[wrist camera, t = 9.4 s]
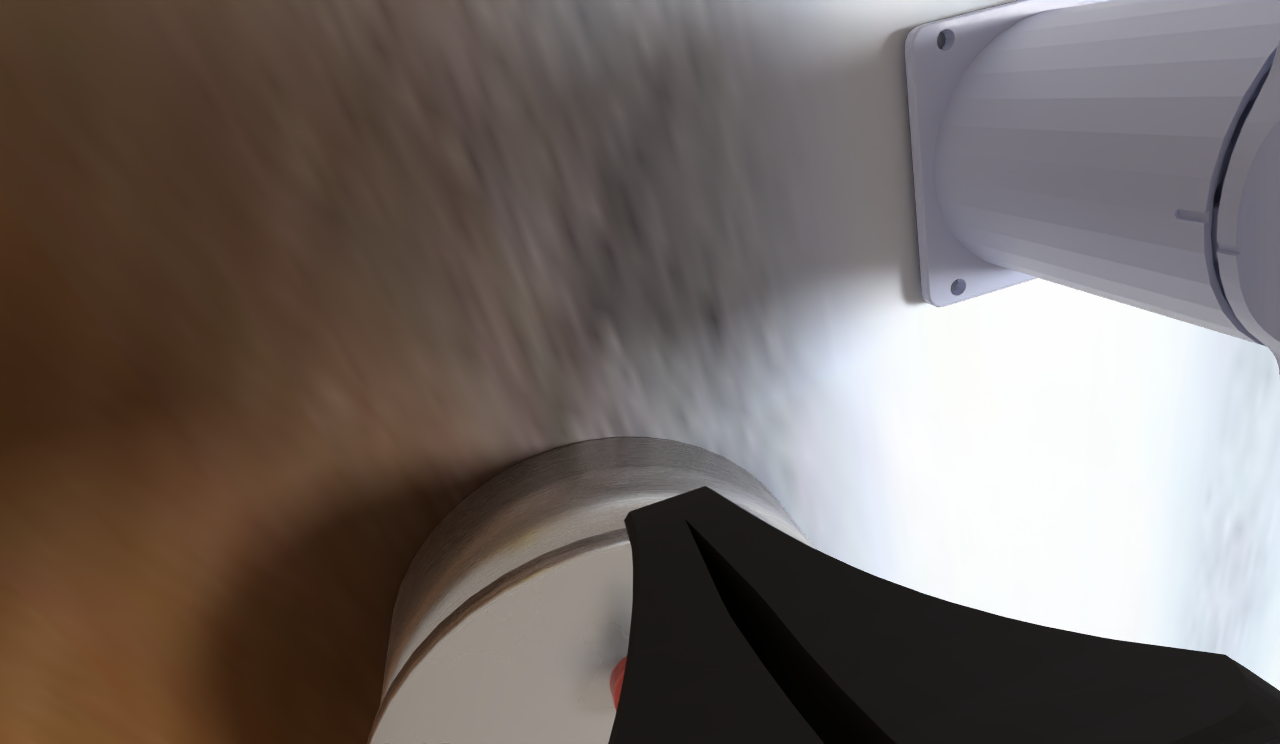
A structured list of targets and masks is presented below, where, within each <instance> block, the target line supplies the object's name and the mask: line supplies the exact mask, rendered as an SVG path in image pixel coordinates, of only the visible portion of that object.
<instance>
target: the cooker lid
mask: <svg viewBox="0 0 1280 744" xmlns="http://www.w3.org/2000/svg"><path fill="white" fill-rule="evenodd" d="M632 601H633V561H632V548H631V544H630V541H629V537H628V534H627V530H626V528H623V529H618V530H614V531H610V532H607V533H603V534H599V535H595V536H592V537H588V538H584V539H581V540H578V541H575V542H573V543H570V544H568V545H565V546H563V547H560V548H557V549H555V550H552V551H550V552H547V553H545V554H542V555H540V556H538V557H536V558H534V559H532V560H530V561H528V562H527V563H525V564H523V565H521V566H519V567H517V568H515V569H513V570H511V571H509V572H508V573H506V574H504V575H502V576H501V577H499V578H498V579H496V580H495V581H493V582H492V583H490V584H489V585H487V586H486V587H484V588H483V589H482V590H480V591H479V592H477V593H476V594H474V595H473V596H471V597H470V598H469V599H467V600H466V601H465V602H464V603H463V604H462V605H460V606H459V607H458V608H457V609H456V610H455V611H453V612H452V613H451V614H450V615H449V616H448V617H446V618H445V619H444V620H443V621H442V622H441V623H439V624H438V626H437V627H436V628H435V629H434V630H433V631H432V632H431V633H430V634H429V635H428V636H427V638H426V639H425V640H424V641H423V642H422V643H421V644H420V645H419V646H418V647H417V649H416V650H415V651H414V652H413V653H412V655H411V656H410V657H409V659H408V660H407V662H406V663H405V665H404V666H403V667H402V669H401V670H400V672H399V673H398V675H397V676H396V678H395V679H394V680H393V682H392V683H391V685H390V687H389V689H388V691H387V693H386V695H385V697H384V699H383V701H382V703H381V705H380V707H379V709H378V711H377V713H376V716H375V719H374V722H373V725H372V728H371V732H370V735H369V738H368V741H367V744H608V742H609V739H610V735H611V731H612V727H613V723H614V719H615V715H616V711H617V707H618V702H619V697H620V693H621V688H622V683H623V677H624V672H625V666H626V659H627V653H628V645H629V635H630V625H631V615H632Z"/></svg>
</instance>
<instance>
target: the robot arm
mask: <svg viewBox="0 0 1280 744" xmlns="http://www.w3.org/2000/svg"><path fill="white" fill-rule="evenodd" d="M941 31H942V32H943V33H944V34H945V38H946V41H945V45H944V47H943V48H942V49H940V48H939V47H938V44H937V38H938V35H939V34H940V32H941ZM905 60H906V74H907V88H908V102H909V117H910V131H911V145H912V159H913V173H914V187H915V201H916V215H917V229H918V243H919V257H920V271H921V285H922V295H923V299H924V300H925V301H926V302H927V303H929V304H931V305H933V306H936V307H944V306H947V305H950V304H954V303H957V302H960V301H964V300H967V299H970V298H973V297H977V296H980V295H983V294H987V293H990V292H993V291H996V290H1000V289H1003V288H1006V287H1010V286H1013V285H1016V284H1019V283H1023V282H1026V281H1029V280H1032V279H1036V278H1041V279H1044V280H1047V281H1051V282H1054V283H1057V284H1061V285H1064V286H1067V287H1071V288H1074V289H1077V290H1081V291H1084V292H1087V293H1091V294H1094V295H1097V296H1101V297H1104V298H1107V299H1111V300H1114V301H1117V302H1121V303H1124V304H1127V305H1131V306H1134V307H1137V308H1141V309H1144V310H1147V311H1151V312H1154V313H1157V314H1161V315H1164V316H1167V317H1171V318H1174V319H1177V320H1181V321H1184V322H1187V323H1191V324H1194V325H1197V326H1201V327H1204V328H1207V329H1211V330H1214V331H1217V332H1221V333H1224V334H1227V335H1231V336H1234V337H1237V338H1241V339H1244V340H1247V341H1251V342H1254V343H1257V344H1261V345H1264V346H1267V347H1268V348H1269V349H1270V350H1271V351H1272V353H1273V354H1274V356H1275V358H1276V360H1277V363H1278V366H1279V373H1280V0H1019V1H1015V2H1011V3H1007V4H1003V5H999V6H995V7H991V8H987V9H983V10H979V11H975V12H971V13H966V14H962V15H958V16H954V17H950V18H946V19H942V20H938V21H934V22H930V23H926V24H922V25H919V26H917V27H915V28H913V30H912V31H911V32H910V33H909V34H908V37H907V39H906V41H905ZM955 280H958V285H957V287H956V289H955V290H954V291H952V292H951V290H950V289H951V285H952V283H953V282H954V281H955ZM624 523H625V526H626V530H627V534H628V537H629V541H630V544H631V548H632V561H633V601H632V615H631V625H630V635H629V645H628V653H627V659H626V666H625V672H624V677H623V683H622V688H621V693H620V697H619V702H618V707H617V711H616V715H615V719H614V723H613V727H612V731H611V735H610V739H609V742H608V744H1280V691H1279V690H1278V689H1276V688H1275V687H1273V686H1272V685H1270V684H1269V683H1267V682H1266V681H1264V680H1263V679H1262V678H1260V677H1259V676H1257V675H1256V674H1254V673H1253V672H1251V671H1250V670H1248V669H1247V668H1245V667H1244V666H1242V665H1241V664H1239V663H1237V662H1236V661H1234V660H1232V659H1231V658H1229V657H1228V656H1226V655H1223V654H1216V653H1208V652H1201V651H1194V650H1186V649H1179V648H1171V647H1164V646H1157V645H1149V644H1142V643H1135V642H1127V641H1120V640H1113V639H1107V638H1101V637H1096V636H1091V635H1086V634H1081V633H1076V632H1071V631H1066V630H1061V629H1055V628H1050V627H1045V626H1041V625H1036V624H1032V623H1028V622H1023V621H1019V620H1015V619H1010V618H1006V617H1002V616H998V615H995V614H991V613H988V612H984V611H980V610H977V609H973V608H970V607H966V606H962V605H959V604H955V603H952V602H948V601H945V600H942V599H939V598H936V597H932V596H929V595H926V594H923V593H920V592H918V591H915V590H912V589H909V588H907V587H904V586H901V585H898V584H896V583H893V582H890V581H887V580H885V579H882V578H879V577H877V576H874V575H872V574H869V573H867V572H864V571H862V570H859V569H857V568H855V567H853V566H850V565H848V564H846V563H844V562H842V561H839V560H837V559H835V558H833V557H831V556H829V555H826V554H824V553H822V552H820V551H818V550H816V549H814V548H812V547H810V546H808V545H806V544H805V543H803V542H801V541H799V540H797V539H795V538H793V537H792V536H790V535H788V534H786V533H784V532H782V531H781V530H779V529H777V528H775V527H773V526H772V525H770V524H768V523H766V522H765V521H763V520H761V519H760V518H758V517H756V516H755V515H753V514H751V513H750V512H748V511H746V510H745V509H743V508H741V507H740V506H738V505H736V504H735V503H733V502H732V501H730V500H728V499H727V498H725V497H724V496H722V495H720V494H719V493H717V492H715V491H714V490H712V489H710V488H708V487H707V486H703V487H700V488H697V489H694V490H691V491H688V492H686V493H683V494H680V495H677V496H674V497H671V498H668V499H665V500H662V501H659V502H656V503H653V504H650V505H647V506H644V507H641V508H638V509H635V510H632V511H630V512H629V513H628V515H627V516H626V518H625V519H624Z"/></svg>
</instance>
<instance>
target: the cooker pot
mask: <svg viewBox="0 0 1280 744" xmlns="http://www.w3.org/2000/svg"><path fill="white" fill-rule="evenodd" d="M703 486H707V487H708V488H710V489H712V490H714V491H715V492H717V493H719V494H720V495H722V496H724V497H725V498H727V499H728V500H730V501H732V502H733V503H735V504H736V505H738V506H740V507H741V508H743V509H745V510H746V511H748V512H750V513H751V514H753V515H755V516H756V517H758V518H760V519H761V520H763V521H765V522H766V523H768V524H770V525H772V526H773V527H775V528H777V529H779V530H781V531H782V532H784V533H786V534H788V535H790V536H792V537H793V538H795V539H797V540H799V541H801V542H803V543H805V544H806V545H808V546H810V547H812V548H814V549H816V548H815V547H814V545H813V544H812V543H811V542H810V540H809V539H808V538H807V537H806V535H805V534H804V533H803V532H802V530H801V529H800V528H799V527H798V525H797V524H796V523H795V522H794V520H793V519H792V518H791V517H790V515H789V514H788V513H787V512H786V510H785V509H784V508H783V507H782V505H781V504H780V503H779V502H778V500H777V499H776V498H775V497H774V496H773V495H772V494H771V493H770V491H769V490H768V489H767V488H766V487H765V486H764V485H763V484H762V483H761V482H760V481H758V480H757V479H756V478H755V477H753V476H752V475H751V474H750V473H749V472H747V471H746V470H745V469H743V468H741V467H740V466H738V465H736V464H735V463H733V462H731V461H730V460H728V459H726V458H724V457H722V456H720V455H717V454H715V453H712V452H710V451H708V450H705V449H703V448H700V447H697V446H693V445H689V444H685V443H681V442H677V441H673V440H664V439H656V438H648V437H615V438H607V439H599V440H591V441H584V442H580V443H576V444H572V445H568V446H564V447H560V448H556V449H553V450H551V451H548V452H545V453H543V454H540V455H537V456H535V457H532V458H529V459H527V460H525V461H523V462H521V463H519V464H517V465H515V466H513V467H511V468H509V469H507V470H505V471H503V472H501V473H499V474H498V475H496V476H495V477H493V478H492V479H490V480H489V481H487V482H486V483H484V484H483V485H481V486H480V487H478V488H477V489H475V490H474V491H473V492H471V493H470V494H469V495H468V496H467V497H466V498H465V499H463V500H462V501H461V502H460V503H459V504H458V505H456V506H455V507H454V508H453V509H452V510H451V511H450V512H449V513H448V514H447V515H446V516H445V517H444V518H443V519H442V521H441V522H440V523H439V524H438V525H437V526H436V527H435V528H434V529H433V531H432V532H431V533H430V534H429V536H428V537H427V539H426V540H425V541H424V543H423V544H422V546H421V547H420V549H419V550H418V552H417V553H416V555H415V556H414V558H413V560H412V562H411V564H410V566H409V568H408V570H407V572H406V574H405V576H404V578H403V580H402V583H401V586H400V589H399V592H398V595H397V598H396V602H395V605H394V609H393V616H392V622H391V629H390V636H389V643H388V651H387V658H386V665H385V673H384V680H383V687H382V694H381V702H380V705H381V703H382V701H383V699H384V697H385V695H386V693H387V691H388V689H389V687H390V685H391V683H392V682H393V680H394V679H395V678H396V676H397V675H398V673H399V672H400V670H401V669H402V667H403V666H404V665H405V663H406V662H407V660H408V659H409V657H410V656H411V655H412V653H413V652H414V651H415V650H416V649H417V647H418V646H419V645H420V644H421V643H422V642H423V641H424V640H425V639H426V638H427V636H428V635H429V634H430V633H431V632H432V631H433V630H434V629H435V628H436V627H437V626H438V624H439V623H441V622H442V621H443V620H444V619H445V618H446V617H448V616H449V615H450V614H451V613H452V612H453V611H455V610H456V609H457V608H458V607H459V606H460V605H462V604H463V603H464V602H465V601H466V600H467V599H469V598H470V597H471V596H473V595H474V594H476V593H477V592H479V591H480V590H482V589H483V588H484V587H486V586H487V585H489V584H490V583H492V582H493V581H495V580H496V579H498V578H499V577H501V576H502V575H504V574H506V573H508V572H509V571H511V570H513V569H515V568H517V567H519V566H521V565H523V564H525V563H527V562H528V561H530V560H532V559H534V558H536V557H538V556H540V555H542V554H545V553H547V552H550V551H552V550H555V549H557V548H560V547H563V546H565V545H568V544H570V543H573V542H575V541H578V540H581V539H584V538H588V537H592V536H595V535H599V534H603V533H607V532H610V531H614V530H618V529H623V528H626V526H625V523H624V519H625V518H626V516H627V515H628V513H629V512H630V511H632V510H635V509H638V508H641V507H644V506H647V505H650V504H653V503H656V502H659V501H662V500H665V499H668V498H671V497H674V496H677V495H680V494H683V493H686V492H688V491H691V490H694V489H697V488H700V487H703ZM816 550H817V549H816Z"/></svg>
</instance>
